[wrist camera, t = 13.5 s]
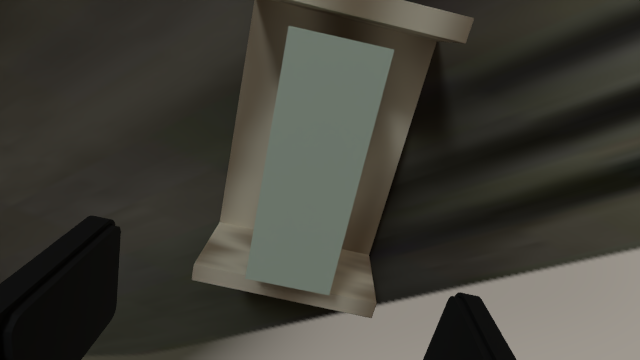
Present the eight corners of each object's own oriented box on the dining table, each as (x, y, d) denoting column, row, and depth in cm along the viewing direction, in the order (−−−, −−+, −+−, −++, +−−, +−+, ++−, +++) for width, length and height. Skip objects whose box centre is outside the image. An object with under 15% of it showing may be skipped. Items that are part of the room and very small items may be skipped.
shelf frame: (222, 226, 32) (191, 279, 25) (262, -22, 26) (235, -43, 19) (363, 257, 33) (371, 318, 26) (437, 22, 26) (473, 18, 19)
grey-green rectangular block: (296, 27, 22) (288, 25, 18) (384, 47, 22) (394, 49, 18) (257, 244, 27) (245, 278, 23) (329, 258, 27) (329, 295, 23)
